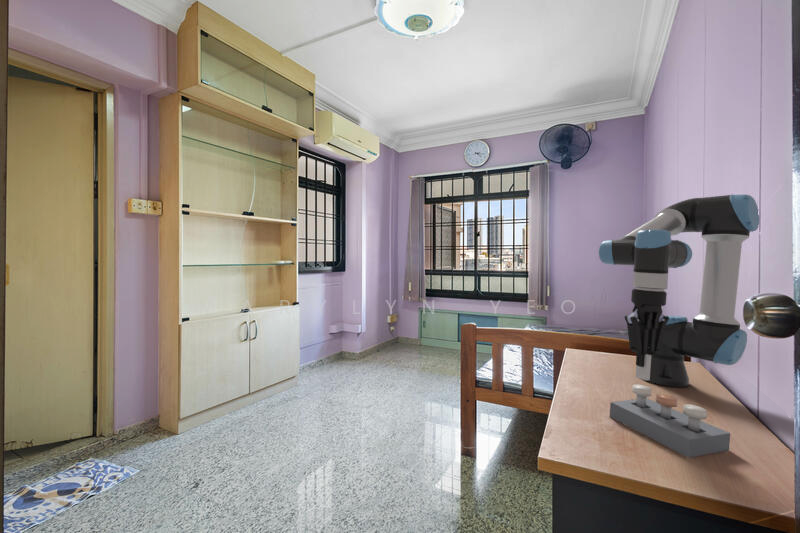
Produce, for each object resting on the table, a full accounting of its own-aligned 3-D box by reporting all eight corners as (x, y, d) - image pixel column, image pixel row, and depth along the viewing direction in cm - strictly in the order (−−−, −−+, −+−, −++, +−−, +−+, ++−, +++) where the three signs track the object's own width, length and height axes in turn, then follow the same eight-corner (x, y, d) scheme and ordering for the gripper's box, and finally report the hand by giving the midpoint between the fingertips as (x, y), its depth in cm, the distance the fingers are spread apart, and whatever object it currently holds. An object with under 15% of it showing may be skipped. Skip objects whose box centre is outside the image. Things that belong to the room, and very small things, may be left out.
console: (645, 412, 102) (646, 398, 101) (728, 450, 82) (730, 433, 82) (609, 416, 98) (610, 402, 97) (688, 457, 79) (689, 439, 78)
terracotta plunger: (663, 413, 93) (664, 393, 92) (680, 420, 89) (681, 399, 88) (650, 414, 91) (652, 394, 91) (667, 422, 87) (669, 401, 87)
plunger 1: (639, 402, 99) (640, 384, 99) (654, 409, 95) (655, 389, 95) (627, 404, 97) (629, 385, 97) (642, 410, 93) (643, 391, 93)
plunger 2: (690, 425, 86) (691, 403, 86) (709, 433, 82) (711, 411, 82) (677, 427, 85) (679, 405, 85) (696, 436, 81) (698, 413, 81)
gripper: (653, 288, 100) (647, 372, 101) (617, 287, 96) (611, 375, 97) (681, 291, 93) (675, 381, 94) (643, 290, 89) (637, 385, 90)
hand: (642, 378), depth 96 cm, fingers closed
